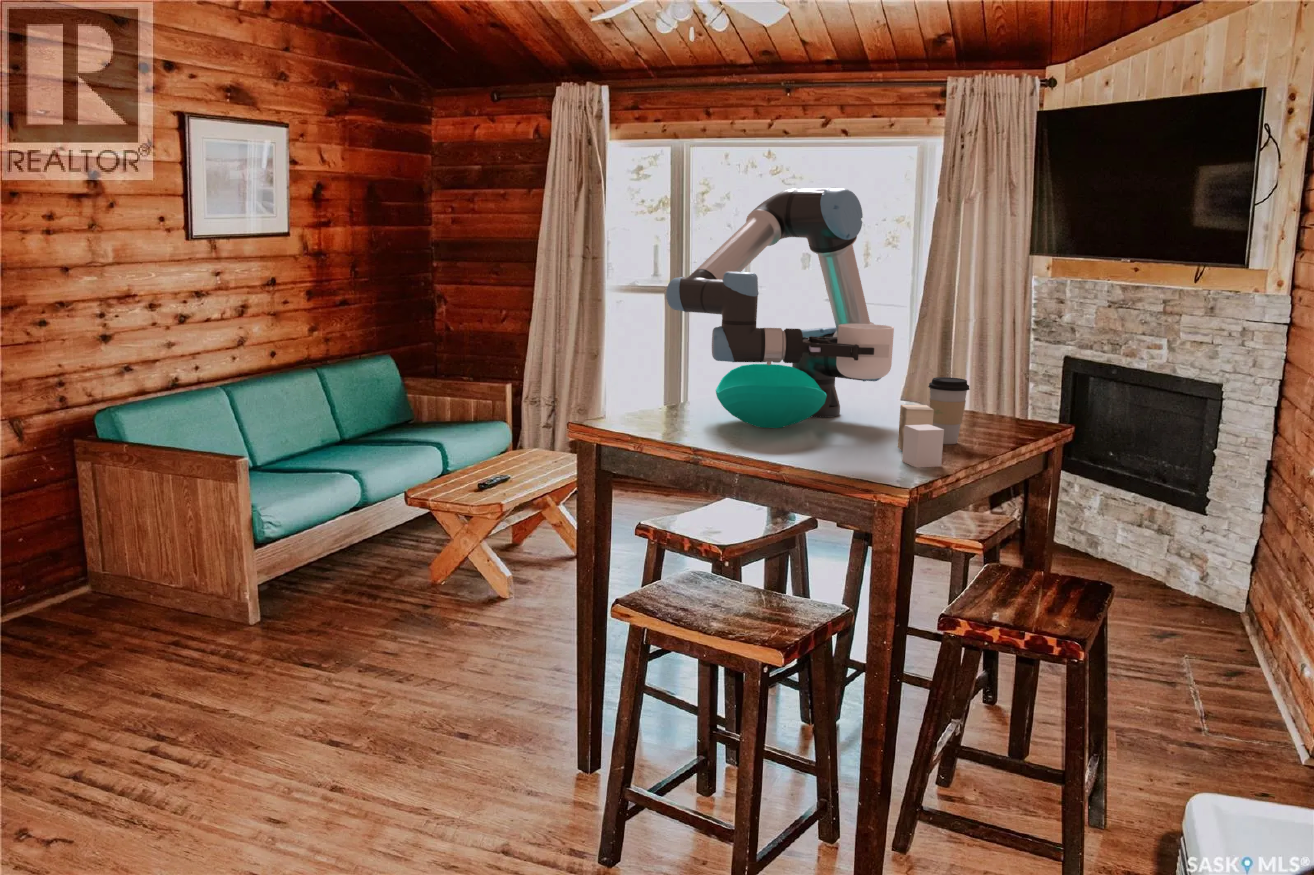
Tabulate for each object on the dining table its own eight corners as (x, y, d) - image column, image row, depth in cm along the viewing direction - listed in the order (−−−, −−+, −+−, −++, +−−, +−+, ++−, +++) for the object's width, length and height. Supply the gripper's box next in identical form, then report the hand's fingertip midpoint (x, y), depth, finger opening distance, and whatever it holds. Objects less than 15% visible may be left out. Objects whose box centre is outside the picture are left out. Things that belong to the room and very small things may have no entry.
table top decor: (834, 443, 242) (837, 387, 239) (715, 440, 243) (717, 384, 240) (815, 413, 281) (818, 365, 278) (713, 410, 282) (715, 362, 279)
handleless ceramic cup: (888, 382, 220) (892, 329, 218) (832, 378, 223) (835, 326, 221) (892, 375, 231) (895, 325, 229) (838, 372, 235) (841, 322, 232)
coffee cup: (916, 441, 247) (921, 378, 244) (937, 436, 254) (942, 375, 251) (952, 447, 240) (957, 383, 238) (972, 442, 247) (977, 380, 244)
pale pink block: (902, 461, 225) (904, 425, 224) (926, 460, 227) (929, 424, 225) (916, 467, 220) (918, 430, 218) (941, 466, 221) (944, 429, 220)
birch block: (897, 447, 240) (900, 404, 238) (923, 447, 240) (926, 405, 238) (904, 452, 234) (907, 409, 232) (930, 453, 234) (933, 409, 232)
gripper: (775, 356, 238) (868, 357, 239) (789, 370, 215) (893, 372, 215) (776, 323, 237) (870, 325, 237) (791, 334, 213) (896, 336, 214)
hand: (881, 347), depth 226 cm, fingers closed on handleless ceramic cup, 12 cm apart
